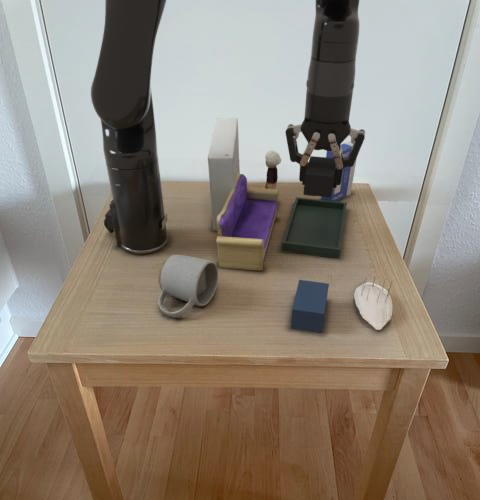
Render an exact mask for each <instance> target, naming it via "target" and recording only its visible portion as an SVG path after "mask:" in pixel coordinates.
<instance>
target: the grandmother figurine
mask: <svg viewBox="0 0 480 500" xmlns="http://www.w3.org/2000/svg"><path fill="white" fill-rule="evenodd" d="M264 157H265V158H264V159H265V166H266V167H267V171H266V181H265V184H264V187H263V189H275V190H277V186H278V179H279V173H278V168H277V166H278V165H280V164H281V162H282V159H281V158H282V157H281V155H280V154H279V153H278V152H276V151H275V150H274V149H273V150H272V149H271V150H268V151H267V152H266V153H265V156H264Z"/></svg>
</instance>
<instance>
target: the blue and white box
mask: <svg viewBox="0 0 480 500" xmlns="http://www.w3.org/2000/svg"><path fill="white" fill-rule="evenodd" d="M352 146H353V144H352V143H351V140H349V141H346V142H344V143H341V148H342V154H343V158H345V157H348V156H349V154H350V151H351V149H352ZM325 157H326V158H333V154H332V151H326V154H325ZM357 159H358V157H357V158H356V160H355V163H354V165H353V166H352V167H345V168H344V169H343V172H342V179H341V184H340V185H337V187H336V188H333V190H332V195H331V197H321V196H320V197H321V198H320V200H328V201H338V202H339V201H340V200H342V199H344V198H346V197H348V196H350V195H351V194H352V189H353V183H354V182H353V181H354V176H355V172H356V165H357Z"/></svg>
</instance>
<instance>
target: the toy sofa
mask: <svg viewBox="0 0 480 500" xmlns="http://www.w3.org/2000/svg"><path fill="white" fill-rule="evenodd" d="M279 194H280V192H279V189H276V190H275V189H264V188H259V187H248V179H247V176H246V175H245V174H243V173H240V174H237V176H236V180H235V189H232V190H231V192H230V194H229V196H228V198H227V201H226V203H225V205H224V207H223V210H222V211H221V213H220V214H218V216H217V229H218V230H217V236H216V242H215V244H216V245H217V256H218V257H217V258H218V267H219V268H225V269H236V270H246V271H260V272H261V271H264V260H265V257H266V252H267V249H268V245H269V242H270V238H271V235H272V231H273V227H274V224H275V221H276V220H277V219H278V206H279V205H278V204H279Z"/></svg>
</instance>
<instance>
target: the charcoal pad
mask: <svg viewBox="0 0 480 500" xmlns="http://www.w3.org/2000/svg"><path fill="white" fill-rule="evenodd" d="M308 162H309V164H308V167H307V170H306V173H305V182H304V185H303V196H310V197H331V195H332V190H333V182H334V174H335V166H336V164H335V160H334V158H326V156H315V155H314V156H313V155H311V156H310V158H309V160H308Z"/></svg>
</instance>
